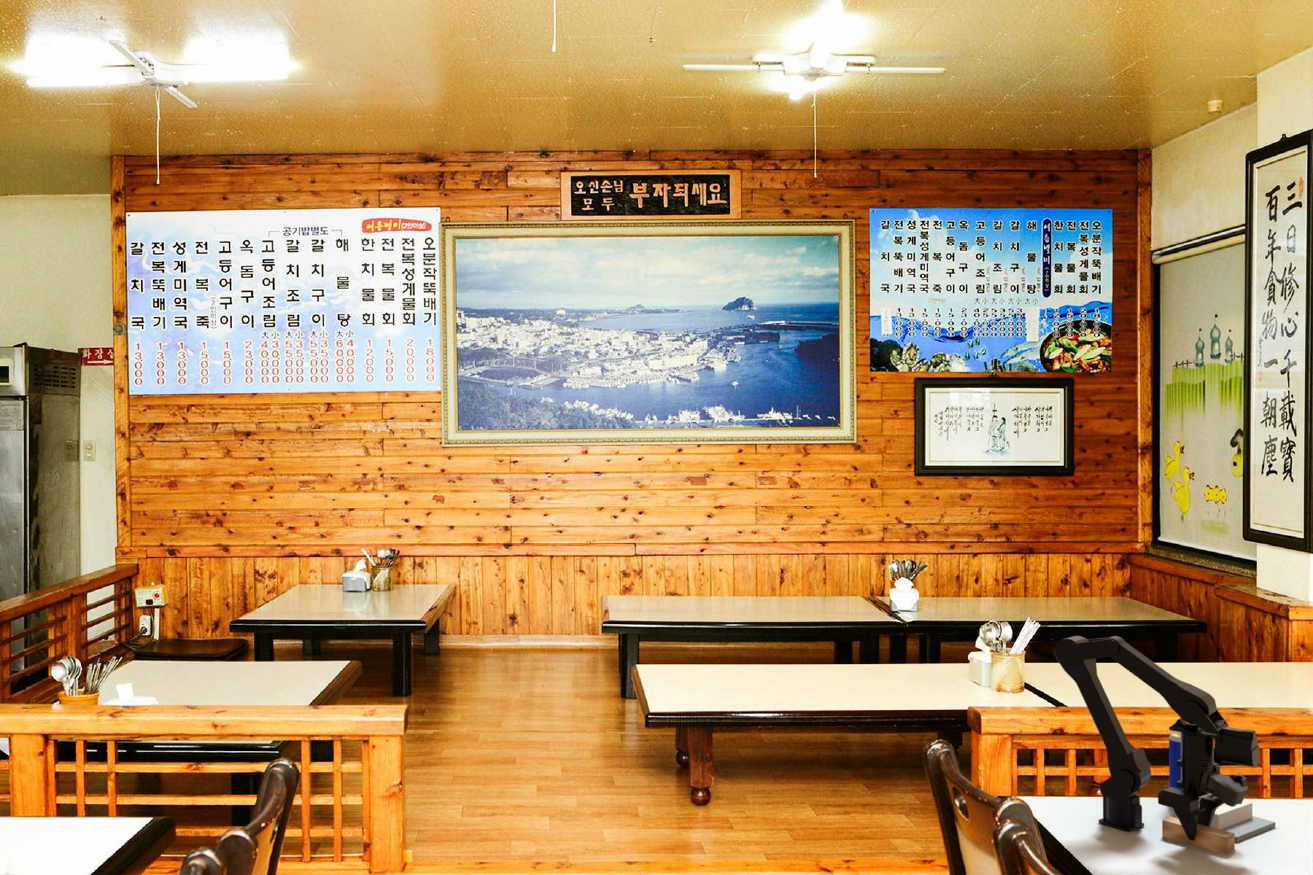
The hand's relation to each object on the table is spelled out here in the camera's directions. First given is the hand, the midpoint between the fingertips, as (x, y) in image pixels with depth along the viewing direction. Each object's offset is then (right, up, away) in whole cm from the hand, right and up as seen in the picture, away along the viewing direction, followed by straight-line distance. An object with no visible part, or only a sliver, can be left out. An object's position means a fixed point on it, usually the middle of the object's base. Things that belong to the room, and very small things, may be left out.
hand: (1197, 837), depth 195 cm
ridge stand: (+12, -2, +9) cm, 15 cm away
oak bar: (0, -1, 0) cm, 1 cm away
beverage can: (+9, -2, +23) cm, 25 cm away
